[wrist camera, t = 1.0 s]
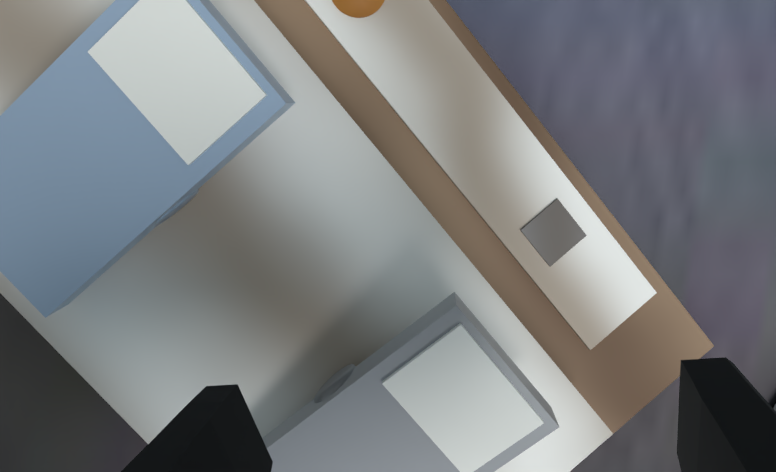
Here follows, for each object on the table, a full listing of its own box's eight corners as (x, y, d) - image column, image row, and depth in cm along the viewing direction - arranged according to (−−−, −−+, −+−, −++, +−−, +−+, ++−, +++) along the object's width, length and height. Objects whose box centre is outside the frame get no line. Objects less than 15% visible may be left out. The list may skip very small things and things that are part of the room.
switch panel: (365, 626, 22) (374, 723, 18) (-138, 106, 19) (-260, 87, 15) (697, 338, 23) (776, 372, 19) (259, -222, 19) (243, -326, 15)
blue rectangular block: (82, 295, 17) (42, 320, 15) (-25, 182, 16) (-82, 193, 14) (301, 102, 15) (284, 103, 13) (190, -30, 15) (157, -47, 13)
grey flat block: (323, 548, 18) (313, 598, 16) (232, 452, 18) (210, 493, 16) (546, 394, 17) (560, 430, 15) (453, 283, 16) (456, 307, 14)
